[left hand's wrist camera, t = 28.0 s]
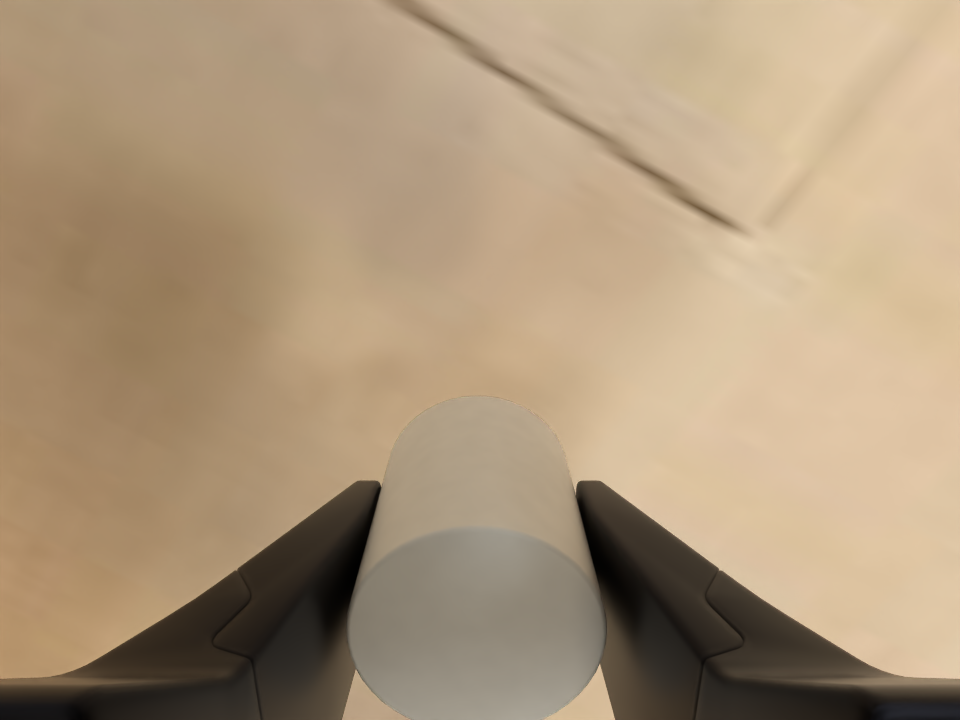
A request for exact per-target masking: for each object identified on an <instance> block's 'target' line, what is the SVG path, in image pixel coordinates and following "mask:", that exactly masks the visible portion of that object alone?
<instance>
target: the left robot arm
mask: <svg viewBox="0 0 960 720" xmlns="http://www.w3.org/2000/svg"><path fill="white" fill-rule="evenodd" d="M380 491H381V485H380V483H379V482H378V481H357V482H355V483H354V484H352V485H351V486H350V487H348V488H347V489H345V490H344V491H343V492H341V493H340V494H339V495H337V496H336V497H335V498H333V499H332V500H330V501H329V502H328V503H326V504H325V505H324V506H322V507H321V508H320V509H318V510H317V511H315V512H314V513H313V514H311V515H310V516H309V517H307V518H306V519H305V520H303V521H302V522H301V523H299V524H298V525H296V526H295V527H294V528H292V529H291V530H290V531H288V532H287V533H286V534H284V535H283V536H281V537H280V538H279V539H277V540H276V541H275V542H273V543H272V544H271V545H269V546H268V547H266V548H265V549H264V550H262V551H261V552H260V553H258V554H257V555H256V556H254V557H253V558H251V559H250V560H249V561H247V562H246V563H245V564H243V565H242V566H241V567H239V568H238V570H237V571H233V572H232V573H231V574H229V575H228V576H227V577H225V578H224V579H223V580H221V581H220V582H218V583H217V584H216V585H214V586H213V587H211V588H210V589H208V590H207V591H206V592H204V593H203V594H201V595H200V596H198V597H197V598H196V599H194V600H192V601H191V602H189V603H188V604H186V605H185V606H183V607H181V608H180V609H178V610H177V611H175V612H174V613H172V614H170V615H169V616H167V617H166V618H164V619H162V620H161V621H159V622H157V623H156V624H154V625H152V626H151V627H149V628H148V629H146V630H144V631H143V632H141V633H139V634H138V635H136V636H134V637H133V638H131V639H130V640H128V641H126V642H125V643H123V644H121V645H120V646H118V647H116V648H115V649H113V650H111V651H110V652H108V653H107V654H105V655H103V656H102V657H100V658H98V659H97V660H95V661H93V662H91V663H89V664H88V665H86V666H83V667H81V668H79V669H76V670H74V671H71V672H68V673H65V674H62V675H57V676H52V677H44V678H15V679H0V720H342V717H343V713H344V710H345V706H346V702H347V699H348V695H349V691H350V688H351V684H352V680H353V677H354V673H355V669H356V668H355V665H354V663H353V660H352V658H351V655H350V651H349V647H348V643H347V635H346V621H347V612H348V608H349V605H350V601H351V597H352V594H353V590H354V586H355V583H356V579H357V575H358V572H359V568H360V564H361V561H362V557H363V553H364V550H365V546H366V542H367V539H368V535H369V531H370V528H371V524H372V520H373V517H374V513H375V509H376V506H377V502H378V498H379V495H380ZM576 499H577V503H578V506H579V510H580V514H581V518H582V522H583V526H584V530H585V534H586V537H587V541H588V545H589V549H590V553H591V557H592V561H593V565H594V568H595V572H596V576H597V580H598V584H599V588H600V592H601V596H602V599H603V603H604V608H605V612H606V617H607V638H606V645H605V649H604V652H603V656H602V659H601V661H600V665H601V669H602V672H603V676H604V680H605V683H606V687H607V691H608V695H609V698H610V702H611V706H612V709H613V713H614V717H615V720H960V679H940V678H912V677H903V676H898V675H894V674H891V673H888V672H884V671H881V670H879V669H877V668H875V667H872V666H870V665H868V664H866V663H864V662H863V661H861V660H859V659H857V658H856V657H854V656H852V655H851V654H849V653H848V652H846V651H844V650H843V649H841V648H839V647H838V646H836V645H835V644H833V643H831V642H830V641H828V640H826V639H825V638H823V637H822V636H820V635H818V634H817V633H815V632H813V631H812V630H810V629H808V628H807V627H805V626H804V625H802V624H800V623H799V622H797V621H795V620H794V619H792V618H791V617H789V616H787V615H786V614H784V613H783V612H781V611H780V610H778V609H776V608H775V607H773V606H772V605H770V604H769V603H767V602H766V601H764V600H762V599H761V598H759V597H758V596H757V595H755V594H754V593H752V592H751V591H749V590H748V589H747V588H745V587H744V586H742V585H741V584H739V583H738V582H737V581H735V580H734V579H733V578H731V577H730V576H729V575H727V574H726V573H724V572H723V571H719V568H717V567H716V566H715V565H713V564H712V563H711V562H709V561H708V560H707V559H705V558H704V557H703V556H701V555H700V554H699V553H697V552H696V551H694V550H693V549H692V548H690V547H689V546H688V545H686V544H685V543H684V542H682V541H681V540H680V539H678V538H677V537H676V536H674V535H673V534H672V533H670V532H669V531H667V530H666V529H665V528H663V527H662V526H661V525H659V524H658V523H657V522H655V521H654V520H653V519H651V518H650V517H649V516H647V515H646V514H644V513H643V512H642V511H640V510H639V509H638V508H636V507H635V506H634V505H632V504H631V503H630V502H628V501H627V500H626V499H624V498H623V497H621V496H620V495H619V494H617V493H616V492H615V491H613V490H612V489H611V488H609V487H608V486H607V485H605V484H604V483H603V482H601V481H580V482H578V484H577V488H576Z"/></svg>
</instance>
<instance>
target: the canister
mask: <svg viewBox="0 0 960 720" xmlns="http://www.w3.org/2000/svg"><path fill="white" fill-rule="evenodd" d="M346 635H347V643H348V647H349V651H350V655H351V658H352V660H353V663H354V665H355V668H356V670H357V671H358V673H359V675H360V676H361V678H362V680H363V681H364V682H365V684H366V685H367V686H368V687H369V689H370V690H371V691H372V692H373V693H374V694H375V695H376V696H377V697H378V698H379V699H380V700H381V701H382V702H384V703H385V704H386V705H388V706H389V707H390V708H392V709H393V710H395V711H396V712H398V713H400V714H402V715H403V716H405V717H407V718H409V719H411V720H543V719H545V718H547V717H548V716H550V715H552V714H554V713H556V712H557V711H559V710H560V709H562V708H563V707H565V706H566V705H567V704H569V703H570V702H571V701H572V700H573V699H574V698H575V697H577V696H578V695H579V694H580V693H581V691H582V690H583V689H584V688H585V687H586V686H587V684H588V683H589V682H590V680H591V679H592V677H593V675H594V674H595V672H596V670H597V668H598V666H599V664H600V661H601V659H602V656H603V652H604V649H605V645H606V638H607V617H606V612H605V608H604V603H603V599H602V596H601V592H600V588H599V584H598V580H597V576H596V572H595V568H594V565H593V561H592V557H591V553H590V549H589V545H588V541H587V537H586V534H585V530H584V526H583V522H582V518H581V514H580V510H579V506H578V503H577V499H576V495H575V491H574V487H573V483H572V479H571V475H570V472H569V468H568V464H567V460H566V456H565V453H564V450H563V448H562V445H561V443H560V442H559V440H558V438H557V436H556V435H555V433H554V432H553V431H552V429H551V428H550V427H549V426H548V425H547V424H546V423H545V422H544V421H543V420H542V419H541V418H540V417H538V416H537V415H536V414H534V413H533V412H532V411H530V410H528V409H526V408H525V407H523V406H521V405H519V404H516V403H514V402H511V401H508V400H504V399H501V398H496V397H489V396H466V397H459V398H455V399H450V400H447V401H444V402H442V403H439V404H436V405H434V406H432V407H431V408H429V409H427V410H425V411H424V412H422V413H421V414H419V415H418V416H417V417H416V418H414V419H413V420H412V421H411V422H410V423H409V424H408V425H407V426H406V427H405V429H404V430H403V431H402V432H401V434H400V435H399V437H398V439H397V440H396V442H395V444H394V446H393V449H392V451H391V454H390V458H389V462H388V465H387V469H386V473H385V476H384V480H383V484H382V487H381V491H380V495H379V498H378V502H377V506H376V509H375V513H374V517H373V520H372V524H371V528H370V531H369V535H368V539H367V542H366V546H365V550H364V553H363V557H362V561H361V564H360V568H359V572H358V575H357V579H356V583H355V586H354V590H353V594H352V597H351V601H350V605H349V608H348V612H347V621H346Z"/></svg>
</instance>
